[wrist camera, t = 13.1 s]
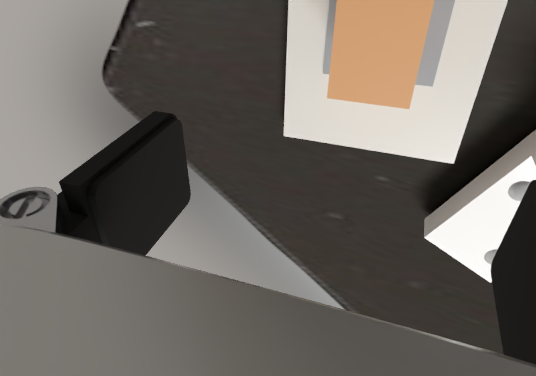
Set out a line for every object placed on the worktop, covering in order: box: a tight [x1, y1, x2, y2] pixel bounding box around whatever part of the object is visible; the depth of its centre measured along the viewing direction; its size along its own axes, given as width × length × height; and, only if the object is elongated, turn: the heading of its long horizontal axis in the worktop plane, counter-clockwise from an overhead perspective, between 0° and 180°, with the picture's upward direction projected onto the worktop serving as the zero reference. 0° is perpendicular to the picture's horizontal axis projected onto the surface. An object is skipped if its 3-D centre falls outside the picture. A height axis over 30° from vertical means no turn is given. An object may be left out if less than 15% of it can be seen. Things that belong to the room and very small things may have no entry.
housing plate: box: [284, 0, 508, 164], centre depth 26 cm, size 20×14×5 cm
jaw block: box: [327, 0, 434, 109], centre depth 24 cm, size 6×5×7 cm
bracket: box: [424, 130, 536, 282], centre depth 30 cm, size 13×7×8 cm, turn 151°
